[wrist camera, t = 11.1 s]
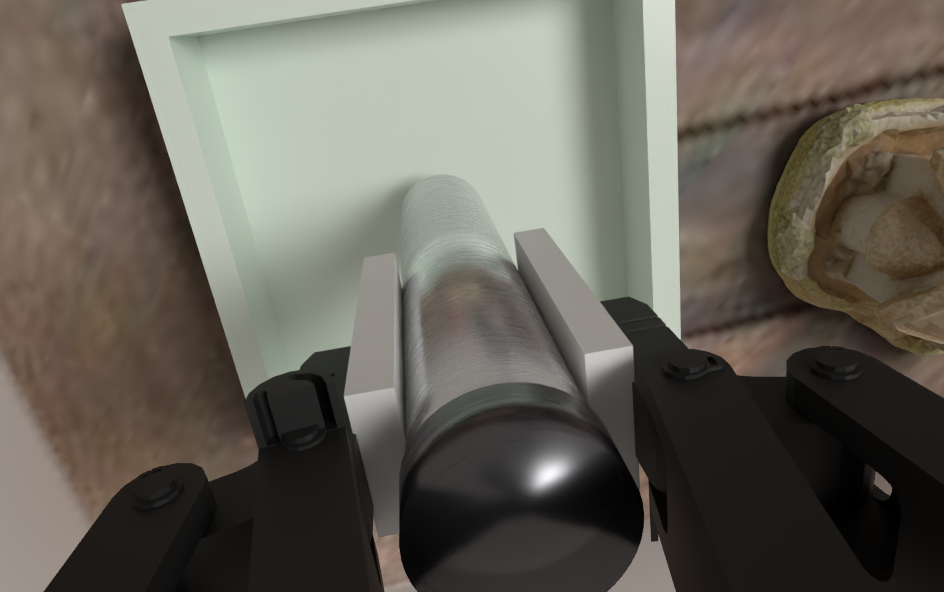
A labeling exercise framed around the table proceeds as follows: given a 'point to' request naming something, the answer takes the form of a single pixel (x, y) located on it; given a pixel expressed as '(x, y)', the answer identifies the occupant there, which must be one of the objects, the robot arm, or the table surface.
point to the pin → (496, 422)
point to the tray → (409, 144)
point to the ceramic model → (868, 219)
